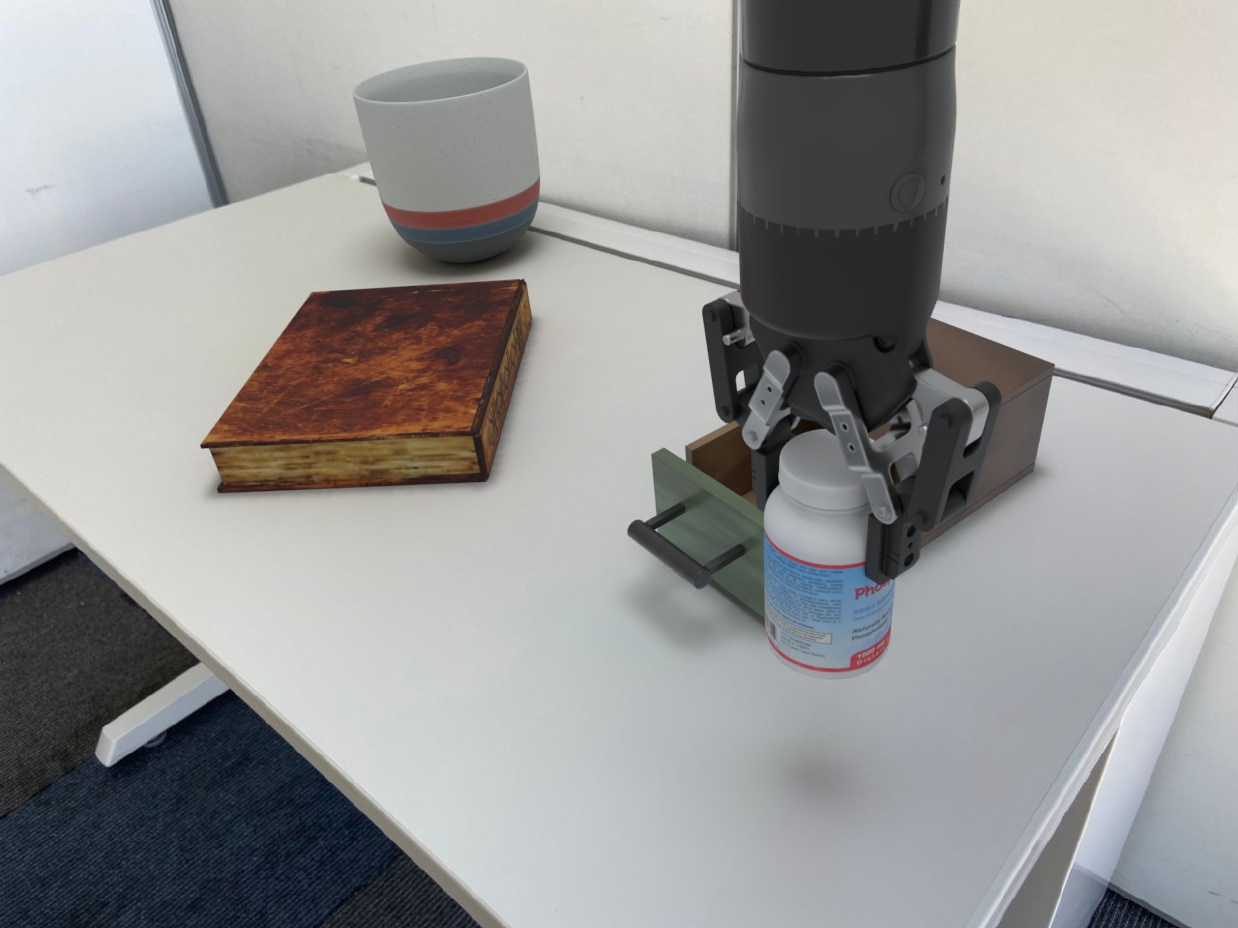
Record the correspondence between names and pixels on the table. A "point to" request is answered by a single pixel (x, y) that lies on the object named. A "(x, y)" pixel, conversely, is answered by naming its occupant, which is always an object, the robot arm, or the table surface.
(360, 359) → the book
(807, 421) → the drawer
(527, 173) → the planter
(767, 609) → the pill bottle
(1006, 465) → the cabinet
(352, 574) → the table surface
